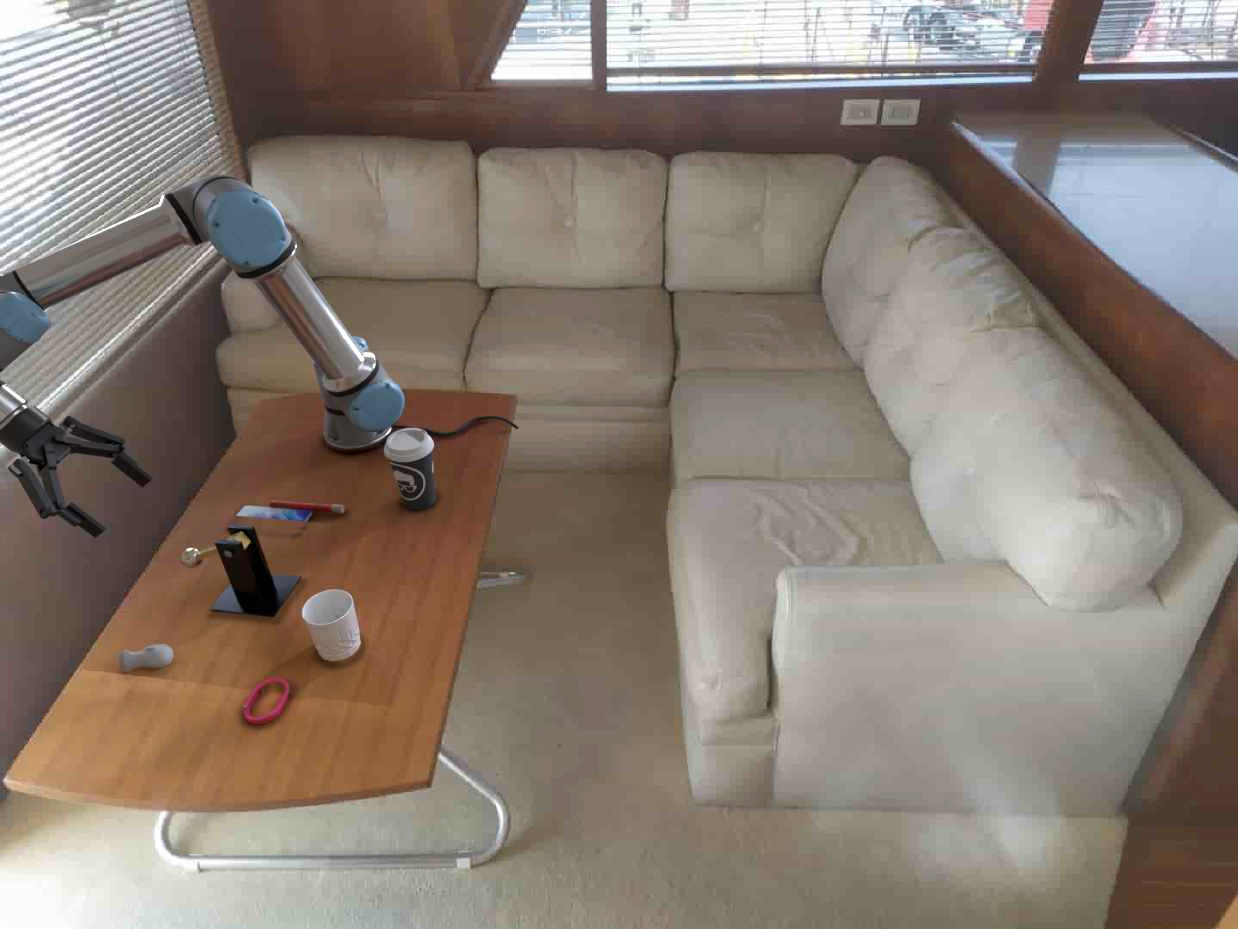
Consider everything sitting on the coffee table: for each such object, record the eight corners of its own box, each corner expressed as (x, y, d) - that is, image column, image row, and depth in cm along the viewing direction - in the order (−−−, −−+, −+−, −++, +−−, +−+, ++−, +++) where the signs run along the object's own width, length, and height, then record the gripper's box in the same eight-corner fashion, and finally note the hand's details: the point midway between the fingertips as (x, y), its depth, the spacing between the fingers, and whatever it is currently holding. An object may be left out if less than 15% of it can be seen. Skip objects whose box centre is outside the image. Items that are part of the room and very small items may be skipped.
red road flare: (341, 515, 169) (339, 508, 168) (270, 510, 171) (268, 503, 170) (345, 509, 171) (343, 503, 170) (274, 505, 173) (272, 498, 172)
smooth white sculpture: (181, 658, 142) (169, 675, 137) (131, 662, 141) (117, 679, 136) (176, 635, 140) (164, 651, 135) (126, 639, 140) (111, 655, 135)
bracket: (212, 615, 148) (184, 550, 139) (241, 576, 156) (217, 512, 147) (276, 622, 146) (252, 557, 138) (303, 582, 154) (282, 518, 146)
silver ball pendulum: (186, 574, 148) (171, 559, 146) (197, 561, 151) (183, 546, 149) (244, 555, 142) (230, 539, 141) (255, 541, 145) (241, 525, 144)
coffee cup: (448, 507, 171) (436, 446, 162) (400, 520, 168) (386, 457, 159) (438, 481, 178) (426, 421, 169) (392, 492, 175) (378, 431, 167)
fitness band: (264, 681, 136) (261, 674, 135) (298, 685, 135) (295, 678, 134) (237, 722, 129) (234, 716, 128) (273, 727, 128) (270, 720, 127)
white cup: (314, 640, 143) (299, 597, 137) (362, 627, 145) (350, 584, 139) (318, 674, 136) (303, 630, 131) (368, 660, 139) (355, 616, 133)
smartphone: (243, 504, 172) (313, 509, 170) (245, 507, 173) (314, 513, 170) (224, 526, 166) (296, 532, 164) (225, 529, 167) (297, 536, 165)
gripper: (51, 390, 147) (154, 473, 156) (-58, 476, 127) (67, 566, 136) (72, 369, 144) (176, 454, 153) (-36, 454, 124) (91, 547, 133)
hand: (125, 507), depth 144 cm, fingers open, 13 cm apart
